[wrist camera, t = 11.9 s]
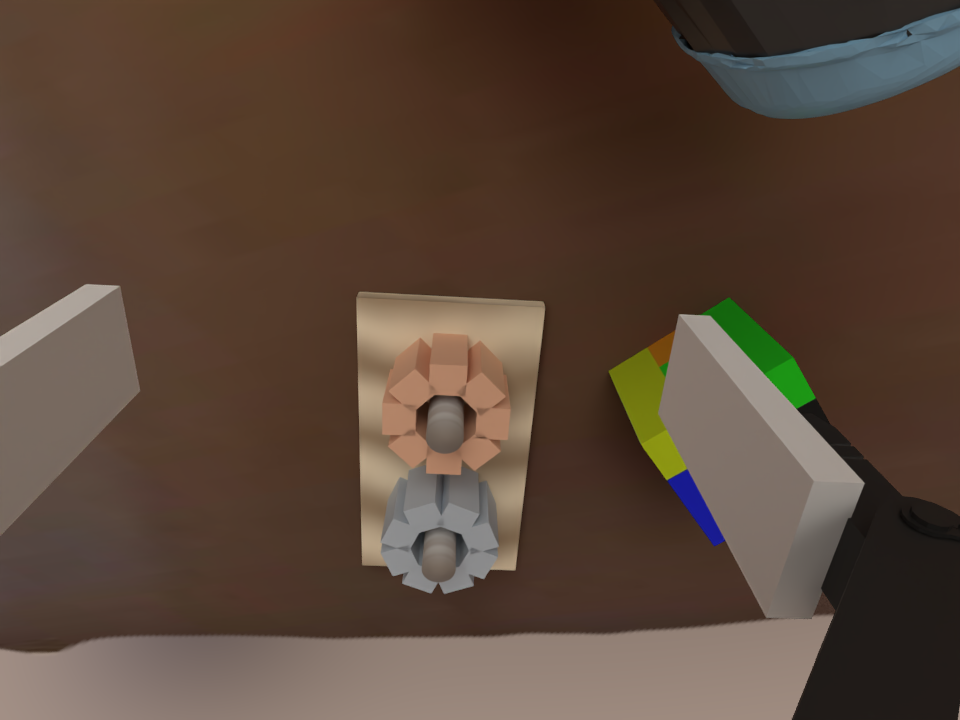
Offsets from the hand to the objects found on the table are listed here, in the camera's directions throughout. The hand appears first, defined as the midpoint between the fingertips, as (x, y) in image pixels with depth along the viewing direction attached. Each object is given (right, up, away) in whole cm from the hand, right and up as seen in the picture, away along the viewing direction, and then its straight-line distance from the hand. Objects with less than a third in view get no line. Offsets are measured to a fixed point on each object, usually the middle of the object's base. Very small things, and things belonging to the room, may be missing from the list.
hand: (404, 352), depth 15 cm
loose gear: (-1, -2, +32) cm, 32 cm away
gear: (-1, -12, +36) cm, 38 cm away
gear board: (-1, -7, +35) cm, 36 cm away
